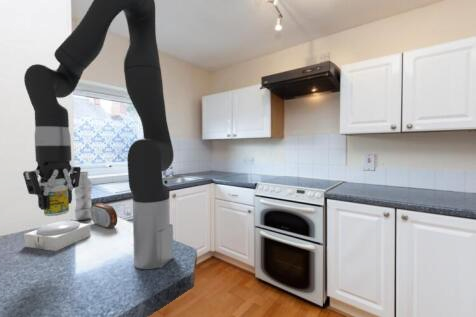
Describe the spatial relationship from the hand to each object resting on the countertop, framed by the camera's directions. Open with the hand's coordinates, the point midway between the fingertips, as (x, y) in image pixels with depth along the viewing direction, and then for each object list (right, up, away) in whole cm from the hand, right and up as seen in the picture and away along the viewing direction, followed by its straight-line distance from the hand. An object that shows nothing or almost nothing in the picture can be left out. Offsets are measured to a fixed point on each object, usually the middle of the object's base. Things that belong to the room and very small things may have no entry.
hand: (56, 206), depth 62 cm
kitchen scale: (-9, -14, +13) cm, 21 cm away
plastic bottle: (-15, -13, +34) cm, 40 cm away
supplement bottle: (0, -2, 0) cm, 2 cm away
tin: (-3, -13, +27) cm, 30 cm away
